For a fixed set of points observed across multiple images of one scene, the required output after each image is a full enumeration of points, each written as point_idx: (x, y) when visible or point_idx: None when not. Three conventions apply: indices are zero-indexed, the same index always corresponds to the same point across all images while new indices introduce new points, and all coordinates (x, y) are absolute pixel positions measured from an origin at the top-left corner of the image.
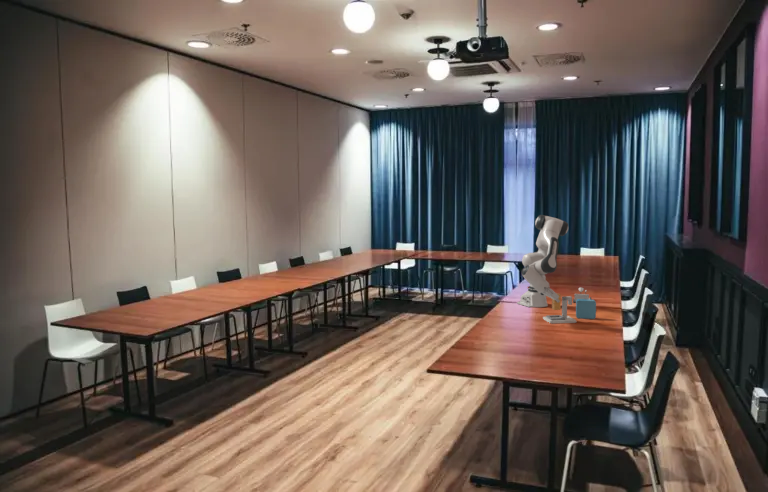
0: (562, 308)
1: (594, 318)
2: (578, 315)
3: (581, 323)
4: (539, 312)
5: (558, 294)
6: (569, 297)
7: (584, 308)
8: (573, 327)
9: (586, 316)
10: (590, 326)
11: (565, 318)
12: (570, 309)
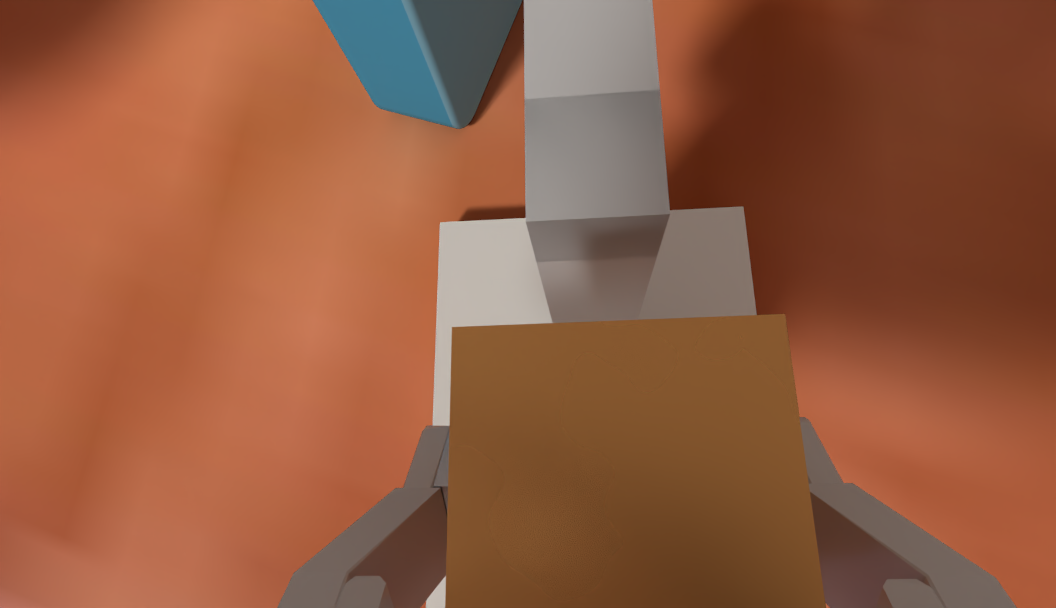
0: None
1: None
2: (466, 95)
3: (774, 169)
4: (8, 527)
5: (796, 427)
6: (650, 30)
7: None
8: (1050, 356)
9: (503, 16)
10: (956, 113)
11: None
12: (2, 68)
